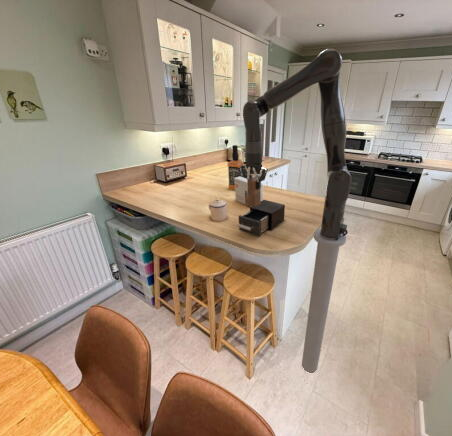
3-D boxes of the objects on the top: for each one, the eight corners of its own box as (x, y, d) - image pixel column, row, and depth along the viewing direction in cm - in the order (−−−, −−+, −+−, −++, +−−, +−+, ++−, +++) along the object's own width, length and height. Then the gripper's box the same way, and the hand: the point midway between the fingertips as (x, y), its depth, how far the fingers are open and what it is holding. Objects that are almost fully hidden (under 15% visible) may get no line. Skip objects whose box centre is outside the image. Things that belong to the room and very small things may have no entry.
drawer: (254, 240, 109) (254, 225, 105) (234, 233, 115) (233, 219, 112) (272, 226, 121) (273, 213, 118) (253, 220, 127) (253, 207, 124)
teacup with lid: (230, 217, 133) (229, 198, 128) (219, 223, 127) (217, 203, 122) (215, 211, 140) (214, 193, 135) (204, 217, 133) (202, 198, 128)
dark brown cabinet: (271, 230, 120) (271, 213, 115) (250, 223, 126) (249, 207, 122) (284, 220, 130) (284, 204, 125) (263, 214, 136) (263, 199, 132)
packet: (260, 203, 115) (260, 178, 109) (254, 207, 111) (254, 180, 105) (253, 202, 117) (253, 176, 111) (248, 205, 113) (247, 179, 107)
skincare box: (234, 200, 156) (233, 177, 149) (241, 198, 160) (240, 176, 153) (256, 209, 143) (256, 185, 136) (263, 207, 146) (263, 183, 139)
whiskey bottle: (228, 189, 176) (225, 146, 162) (233, 185, 185) (231, 144, 171) (240, 191, 173) (239, 146, 159) (245, 187, 182) (244, 144, 168)
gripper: (235, 150, 103) (237, 187, 111) (262, 154, 96) (262, 193, 104) (246, 148, 109) (246, 183, 117) (271, 151, 102) (271, 188, 109)
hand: (254, 188), depth 110 cm, fingers closed on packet, 4 cm apart
